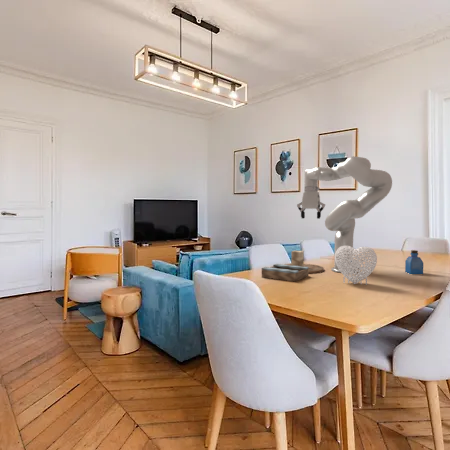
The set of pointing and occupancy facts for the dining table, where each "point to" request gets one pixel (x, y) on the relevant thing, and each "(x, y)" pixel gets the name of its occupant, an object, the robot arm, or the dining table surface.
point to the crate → (285, 272)
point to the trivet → (312, 268)
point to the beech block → (297, 258)
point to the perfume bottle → (414, 263)
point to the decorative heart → (355, 263)
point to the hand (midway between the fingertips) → (310, 218)
